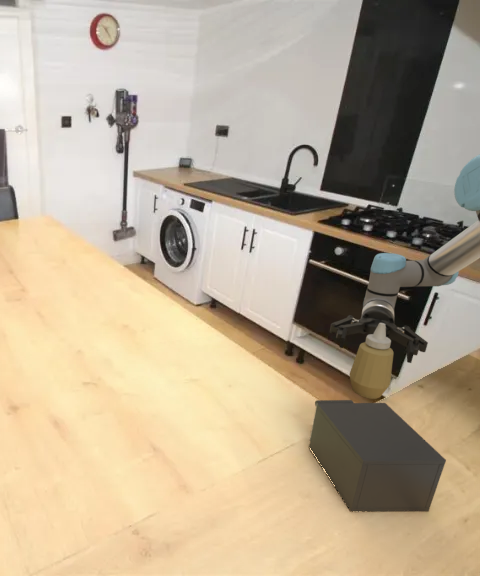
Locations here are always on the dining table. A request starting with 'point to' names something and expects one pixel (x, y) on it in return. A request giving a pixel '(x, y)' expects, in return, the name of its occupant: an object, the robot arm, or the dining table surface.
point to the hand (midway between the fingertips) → (375, 349)
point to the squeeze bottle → (372, 365)
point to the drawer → (330, 402)
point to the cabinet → (375, 457)
